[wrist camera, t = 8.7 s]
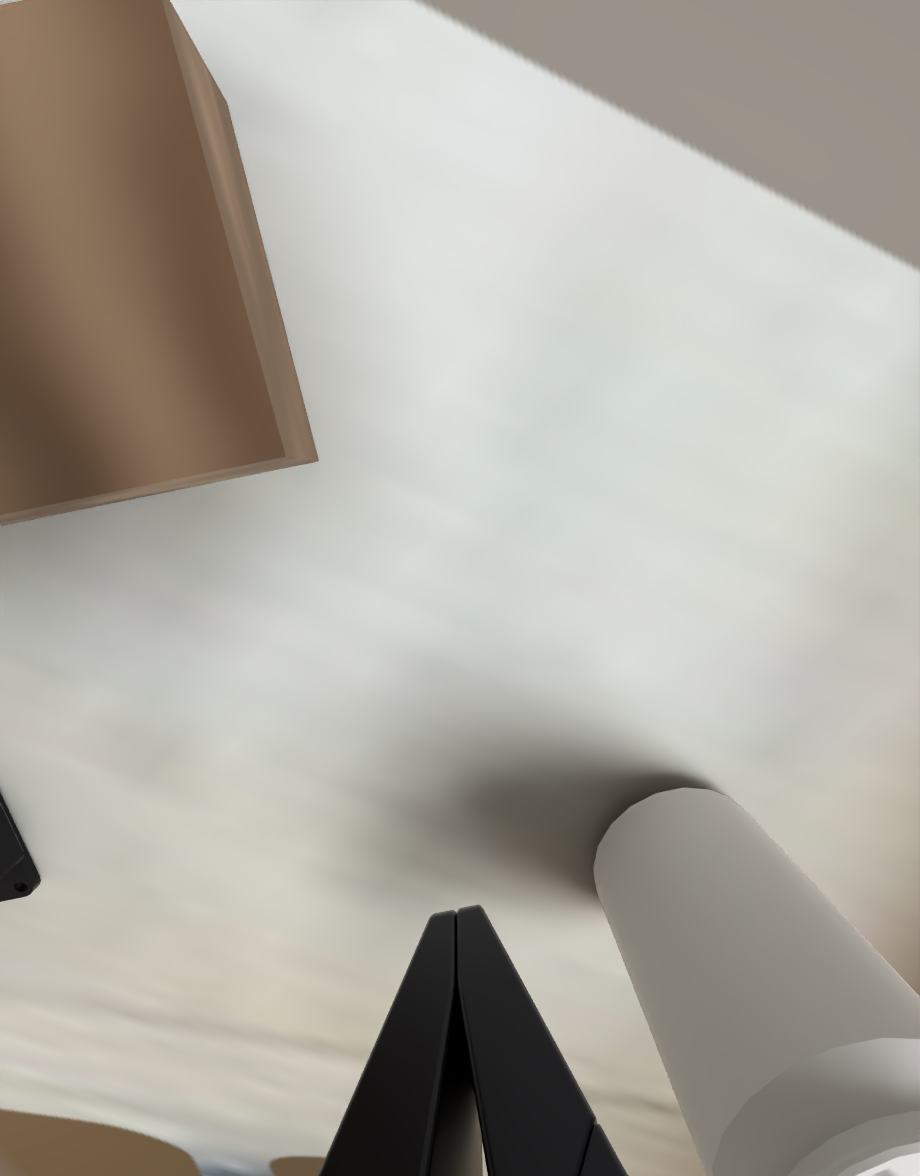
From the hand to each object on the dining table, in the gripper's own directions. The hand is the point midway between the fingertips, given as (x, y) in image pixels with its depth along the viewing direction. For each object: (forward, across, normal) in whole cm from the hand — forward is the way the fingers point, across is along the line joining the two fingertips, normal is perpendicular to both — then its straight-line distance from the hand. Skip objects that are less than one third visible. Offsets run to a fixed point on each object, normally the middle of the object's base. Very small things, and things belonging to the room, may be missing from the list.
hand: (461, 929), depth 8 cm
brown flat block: (+12, +10, -14) cm, 21 cm away
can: (+12, -8, +11) cm, 18 cm away
